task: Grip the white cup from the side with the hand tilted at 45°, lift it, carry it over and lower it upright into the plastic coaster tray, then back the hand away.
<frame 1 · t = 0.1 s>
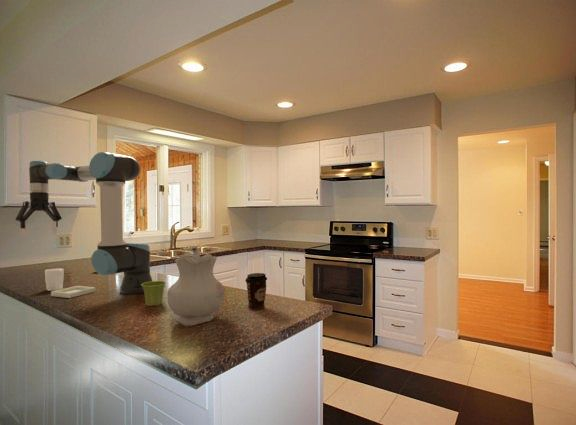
hand: (40, 234, 166), 28 cm above the countertop, tool pointing down, fingers open, 13 cm apart
plant pot: (154, 304, 136), on the countertop
food item: (107, 271, 219), on the countertop
ceramic pitcher: (196, 319, 117), on the countertop
coffee cup: (257, 308, 128), on the countertop
white cup: (54, 289, 167), on the countertop
coaster tray: (73, 293, 157), on the countertop
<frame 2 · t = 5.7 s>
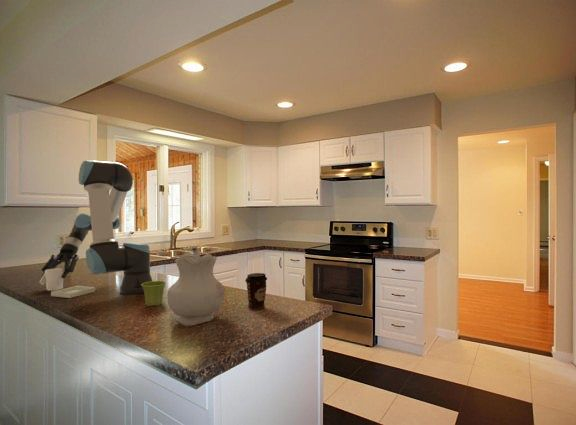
hand: (49, 283, 164), 4 cm above the countertop, tool tilted 45°, fingers closed on white cup, 8 cm apart
white cup: (54, 289, 167), on the countertop, touching gripper
everything else where it was.
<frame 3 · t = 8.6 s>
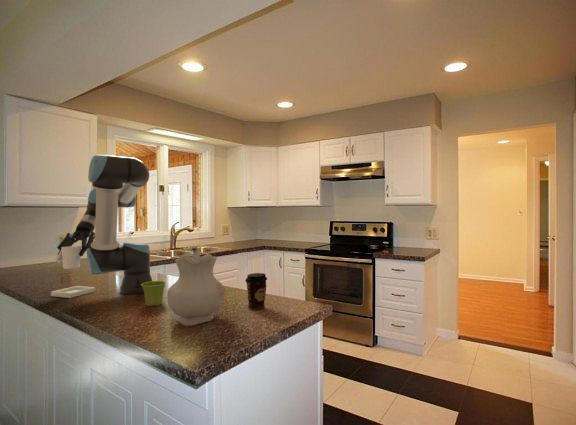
hand: (66, 261, 155), 16 cm above the countertop, tool tilted 45°, fingers closed on white cup, 8 cm apart
white cup: (71, 268, 158), point 12 cm above the countertop, touching gripper
everything else where it was.
when the fingers open (6 cm above the countertop, at t = 11.5 s): white cup drops 1 cm, resting on coaster tray.
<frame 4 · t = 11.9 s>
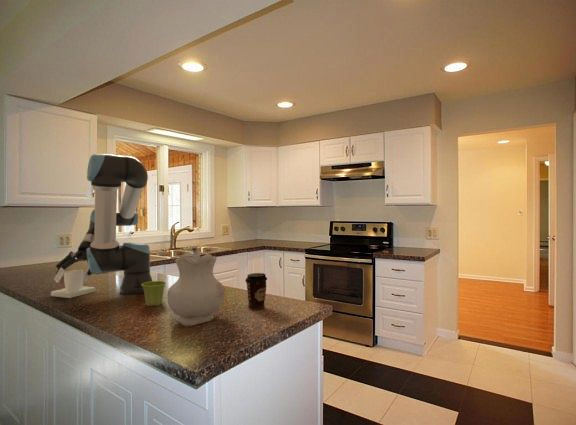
hand: (69, 280, 155), 7 cm above the countertop, tool tilted 45°, fingers open, 12 cm apart
white cup: (74, 292, 157), resting on coaster tray
everything else where it was.
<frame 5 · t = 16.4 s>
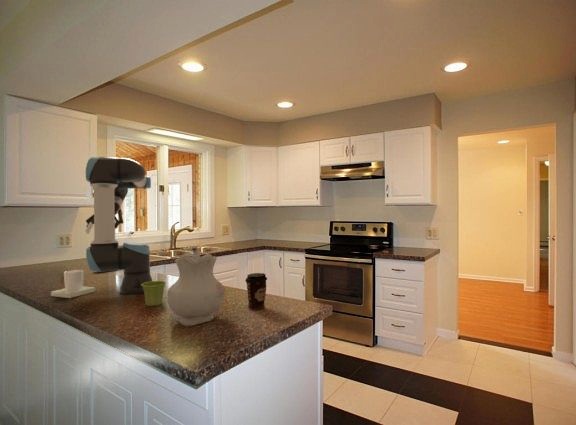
hand: (99, 232, 181), 28 cm above the countertop, tool tilted 45°, fingers open, 13 cm apart
nothing on the countertop moved.
at the end: white cup 0.3 cm off-centre on the coaster tray, point 0.4 cm above the coaster tray's base; white cup tilted 0°; the gripper is holding nothing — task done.
